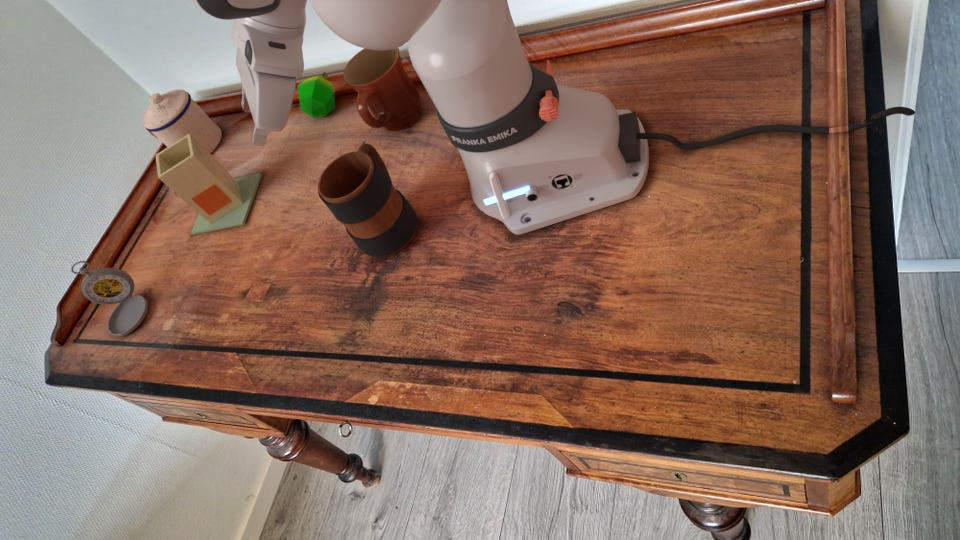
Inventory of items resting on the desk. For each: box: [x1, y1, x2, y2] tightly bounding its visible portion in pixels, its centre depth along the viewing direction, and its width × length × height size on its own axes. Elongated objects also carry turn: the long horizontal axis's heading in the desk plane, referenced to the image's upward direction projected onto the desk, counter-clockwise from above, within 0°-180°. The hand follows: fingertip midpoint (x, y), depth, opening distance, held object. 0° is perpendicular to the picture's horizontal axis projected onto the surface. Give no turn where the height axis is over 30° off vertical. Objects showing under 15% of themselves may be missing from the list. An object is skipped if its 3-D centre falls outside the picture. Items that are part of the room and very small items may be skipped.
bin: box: [155, 133, 243, 224], centre depth 98 cm, size 6×6×11 cm
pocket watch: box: [70, 260, 149, 337], centre depth 92 cm, size 8×8×10 cm
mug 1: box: [342, 47, 424, 132], centre depth 93 cm, size 12×9×10 cm
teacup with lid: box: [142, 89, 223, 154], centre depth 111 cm, size 12×9×12 cm
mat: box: [190, 172, 263, 235], centre depth 102 cm, size 10×10×1 cm
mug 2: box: [317, 142, 419, 258], centre depth 82 cm, size 9×12×12 cm
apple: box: [297, 71, 336, 119], centre depth 105 cm, size 7×6×9 cm
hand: (252, 126), depth 95 cm, fingers open, 8 cm apart
